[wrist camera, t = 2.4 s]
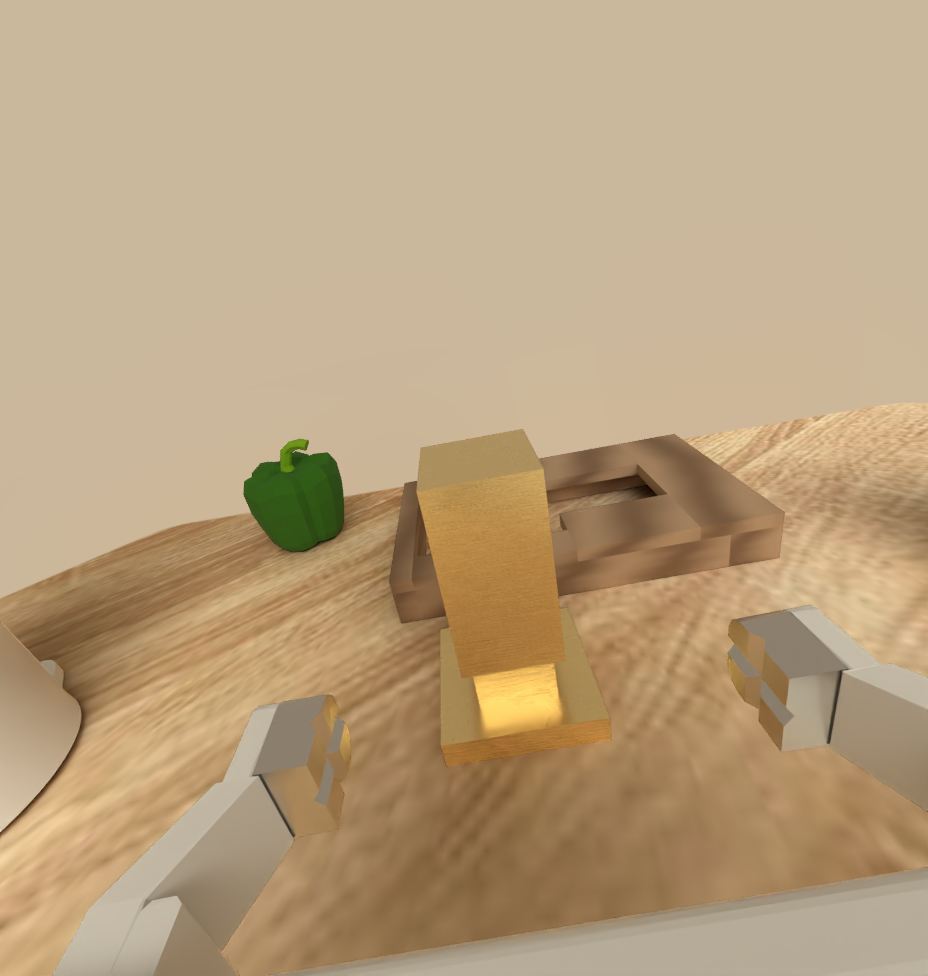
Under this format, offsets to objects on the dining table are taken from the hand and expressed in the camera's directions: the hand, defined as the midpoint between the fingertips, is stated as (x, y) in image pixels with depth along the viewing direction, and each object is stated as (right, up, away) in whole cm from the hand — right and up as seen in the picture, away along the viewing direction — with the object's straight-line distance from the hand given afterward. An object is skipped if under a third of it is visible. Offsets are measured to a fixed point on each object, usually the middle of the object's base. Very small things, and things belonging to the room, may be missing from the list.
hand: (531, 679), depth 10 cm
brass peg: (+2, -7, +17) cm, 18 cm away
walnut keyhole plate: (+7, 0, +30) cm, 31 cm away
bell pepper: (-16, -1, +37) cm, 41 cm away
